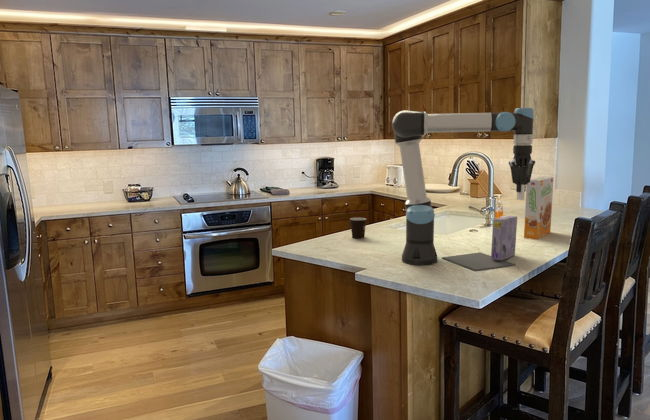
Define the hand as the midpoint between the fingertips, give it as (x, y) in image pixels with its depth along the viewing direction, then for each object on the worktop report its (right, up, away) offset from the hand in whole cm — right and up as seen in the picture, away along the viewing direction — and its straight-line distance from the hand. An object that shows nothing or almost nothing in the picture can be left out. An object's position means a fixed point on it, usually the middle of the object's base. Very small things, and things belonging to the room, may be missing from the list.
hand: (520, 199), depth 217 cm
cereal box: (+27, -18, +47) cm, 58 cm away
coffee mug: (-66, -19, +49) cm, 84 cm away
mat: (-20, -27, -4) cm, 34 cm away
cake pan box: (-7, -25, +1) cm, 26 cm away
